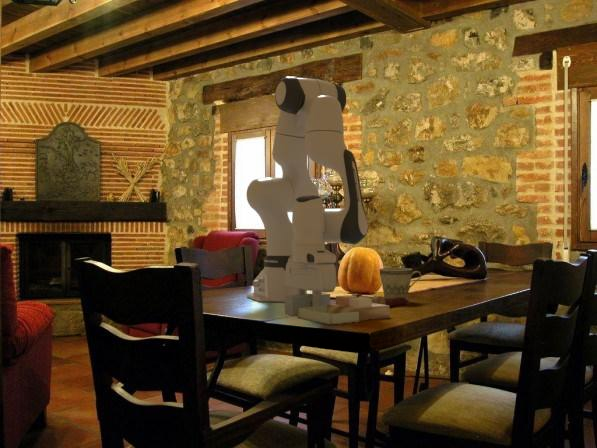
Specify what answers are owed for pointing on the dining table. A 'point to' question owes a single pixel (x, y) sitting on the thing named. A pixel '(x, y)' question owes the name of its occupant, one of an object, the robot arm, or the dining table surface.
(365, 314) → the pale flat square block
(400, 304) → the gavel
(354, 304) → the tile
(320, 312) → the tray
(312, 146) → the robot arm
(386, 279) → the ceramic cup
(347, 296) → the tile
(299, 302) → the small grey box
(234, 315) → the dining table surface
